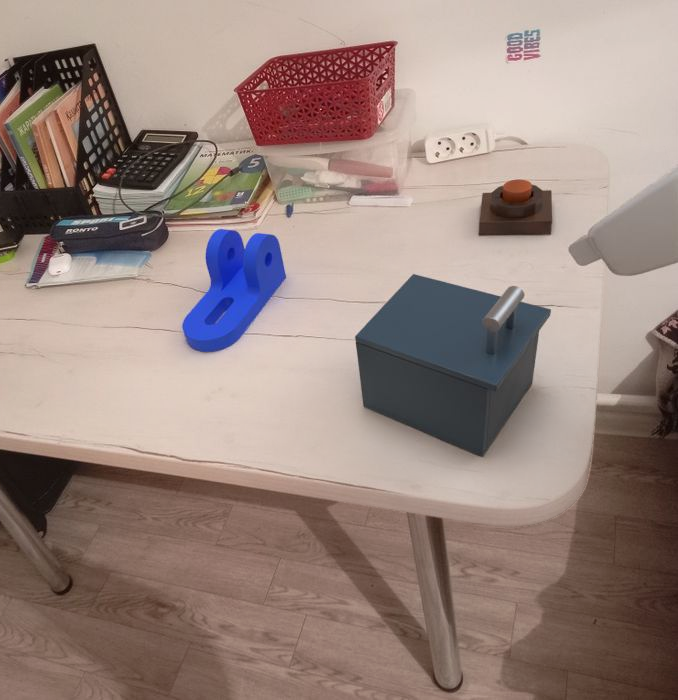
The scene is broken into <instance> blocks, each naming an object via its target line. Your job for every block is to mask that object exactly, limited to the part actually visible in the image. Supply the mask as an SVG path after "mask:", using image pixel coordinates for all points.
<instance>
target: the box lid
mask: <svg viewBox="0 0 678 700" xmlns="http://www.w3.org/2000/svg"><path fill="white" fill-rule="evenodd" d="M524 298H525V291H524V290H523V289H522V288H521V287H519V286H517V285H510V286H508V287H507V288H506V289H505V291H504V292H503V294H502V295H496V294H493V293H489V292H485V291H481V290H477V289H474V288H469V287H465V286H463V285H458V284H454V283H450V282H446V281H442V280H439V279H434V278H432V277H427V276H423V275H419V274H415V273H412V274H411V275H410V277H409V278H408V279H407V280H406V281H405V282H404V283H403V284H402V285H401V286H400V288H399V289H398V290H397V291H396V292H395V293H394V294H393V295H392V296H391V297H390V298H389V299H388V300H387V301H386V303H384V305H382V307H381V308H380V309H379V310H378V311H377V312H376V313H375V314H374V315H373V316H372V317H371V319H370V320H368V322H367V323H365V325H364V326H363V327H362V328H361V329H360V330H359V332H357V333H356V334H355V336H354V339H355V343H356V342H358V343H361V344H363V345H366V346H369V347H372V348H375V349H377V350H380V351H383V352H386V353H389V354H392V355H394V356H397V357H400V358H403V359H406V360H408V361H411V362H414V363H417V364H420V365H422V366H425V367H428V368H431V369H434V370H437V371H439V372H442V373H445V374H448V375H451V376H453V377H456V378H459V379H462V380H465V381H468V382H470V383H473V384H476V385H479V386H482V387H484V388H487V389H490V390H493V391H497V389H498V388H499V387H500V385H501V384H502V382H503V381H504V380H505V378H506V377H507V375H508V374H509V373H510V371H511V370H512V368H513V367H514V366H515V364H516V363H517V361H518V360H519V359H520V357H521V356H522V354H523V353H524V352H525V350H526V349H527V347H528V346H529V345H530V343H531V342H532V340H533V339H534V338H535V336H536V335H537V333H538V332H539V333H540V332H541V331H540V330H541V329H542V328H543V327H544V325H545V324H546V322H547V321H548V319H549V318H550V317H551V313H552V309H551V308H547V307H543V306H539V305H536V304H533V303H528V302H524V301H523V299H524Z"/></svg>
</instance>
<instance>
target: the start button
mask: <svg viewBox="0 0 678 700" xmlns="http://www.w3.org/2000/svg"><path fill="white" fill-rule="evenodd" d="M532 185H533V184H532V182H531V181H529V180H526V179H512V180H509V181H506V182H505V183H504V184H503V185H502V186H503V193H502V199H503V200H504V201H508V202H512V203H514V202H524V201H527V200H529V199H530V198H531V191H532Z"/></svg>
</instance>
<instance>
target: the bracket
mask: <svg viewBox="0 0 678 700" xmlns="http://www.w3.org/2000/svg"><path fill="white" fill-rule="evenodd" d="M205 264H206V269H207V271H208V275H209V278H210V279H209V280H210V285H209V288H208V290H207V291H206V292H205V294H204V295H203V296H202V297H201V298H200V300H199V301H198V302H197V303H196V304H195V305H194V307H193V308H192V309H191V310H190V311H189V313H187V314H186V316H185V318H184V319H183V321H182V325H181V327H182V331H183V335H184V337H185V341H186V342H187V344H188V345H189V347H190V348H191V349H193V350H196V351H199V352H203V353H205V352H206V353H210V352H211V353H213V352H218V351H221V350H224V349H226V348H228V347H230V346H232V345H233V344H235V343H236V342H237V341H238V340H240V339H241V337H242V336H243V334H245V332H246V331H247V329H248V328H249V326H250V325H251V324H252V323H253V321H254V320H255V319H256V317H257V316H258V315H259V313H260V312H261V311H262V309H263V308H264V307H265V306H266V304H267V303H268V302H269V300H270V299H271V298H272V297H273V295H274V294H275V293H276V291H277V290H278V288H279V287H280V286H281V285H282V283H283V282H284V281H285V279H286V278H287V274H286V270H285V263H284V260H283V253H282V249H281V244H280V241H279V239H278V237H277V236H276V235H274V234H270V233H263V232H262V233H260V232H257V233H254V234H252V235H251V236H250V238H249V239H248V240H247V242H246V245H244V240H243V238H242V235H241V234H240V233H239V231H237V230H233V229H227V228H226V229H225V228H219V229H216V230H215V231H214V232H213V233H212V234H211V235H210V237H209V239H208V241H207V245H206V249H205Z"/></svg>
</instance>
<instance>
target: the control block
mask: <svg viewBox="0 0 678 700" xmlns="http://www.w3.org/2000/svg"><path fill="white" fill-rule="evenodd" d="M502 193H503V185H500V186H498V187H497V188H495V189H494V190H493V191H491V192H482V194H481V204H480V212H479V213H480V214H479V221H478V236H528V235H529V236H530V235H531V236H533V235H537V236H538V235H541V236H542V235H551V234H552V226H553V197H552V196H553V194H552V190H551V189H550V190H549V189H545V190H543V189H541V187H539V186H538V185H535V184H532V191H531V198H530V199H529V200H527V201H524V202H514V203H512V202H508V201H504V200H503V199H502Z"/></svg>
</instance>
